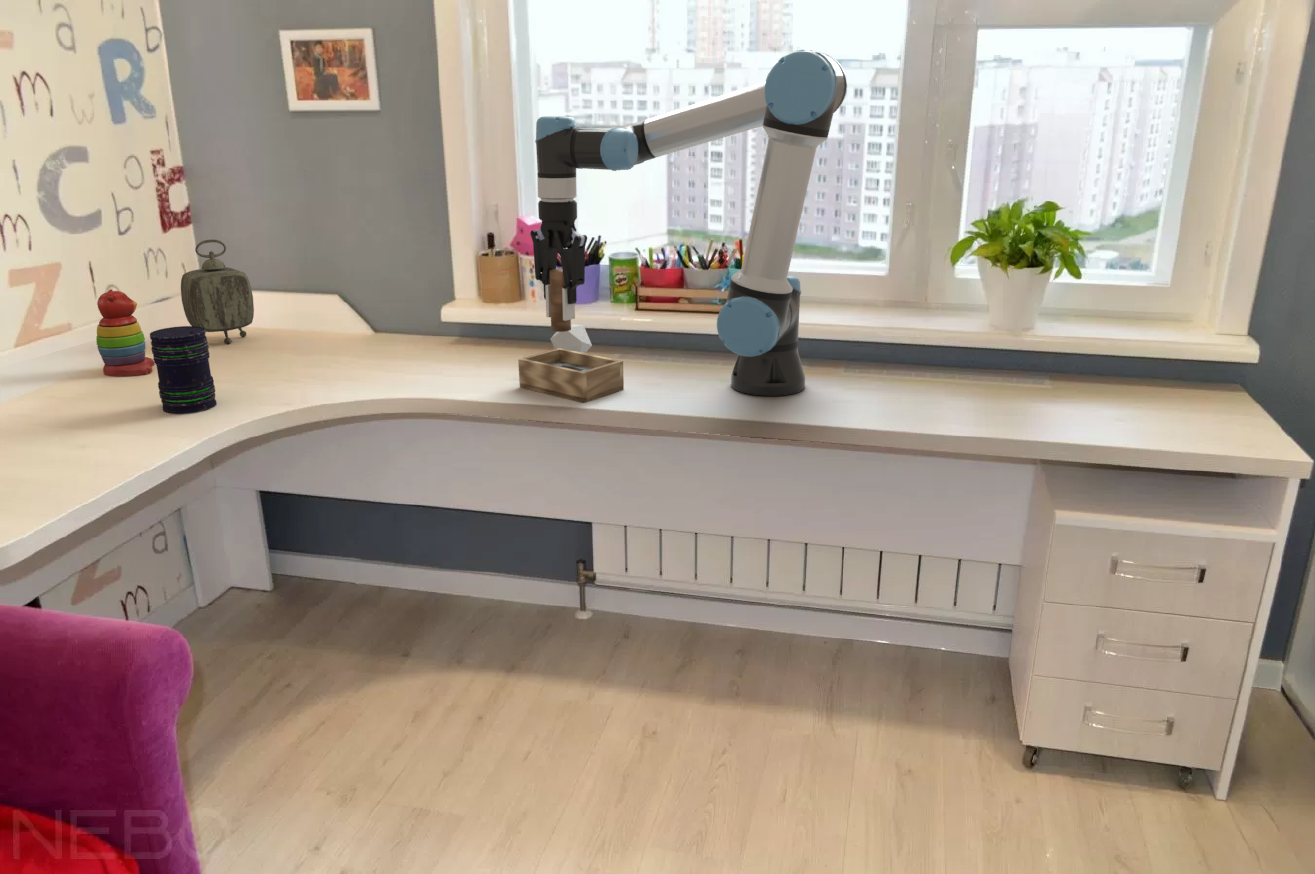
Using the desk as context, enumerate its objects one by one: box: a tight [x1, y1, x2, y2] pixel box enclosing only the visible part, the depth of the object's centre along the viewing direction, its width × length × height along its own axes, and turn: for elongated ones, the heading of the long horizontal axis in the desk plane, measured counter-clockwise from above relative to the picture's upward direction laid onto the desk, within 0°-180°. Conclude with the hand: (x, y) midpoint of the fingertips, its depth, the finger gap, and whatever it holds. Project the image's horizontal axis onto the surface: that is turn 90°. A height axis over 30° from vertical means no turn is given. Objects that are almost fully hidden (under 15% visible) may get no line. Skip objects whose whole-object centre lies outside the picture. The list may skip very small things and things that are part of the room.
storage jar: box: [149, 325, 218, 415], centre depth 192 cm, size 10×10×15 cm
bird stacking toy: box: [96, 288, 155, 377], centre depth 217 cm, size 11×10×18 cm
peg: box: [549, 268, 572, 333], centre depth 200 cm, size 4×4×12 cm
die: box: [550, 323, 593, 354], centre depth 227 cm, size 8×9×10 cm
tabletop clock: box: [180, 239, 255, 345], centre depth 241 cm, size 14×9×25 cm, turn 130°
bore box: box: [517, 348, 625, 404], centre depth 204 cm, size 18×12×6 cm, turn 51°
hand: (560, 317), depth 202 cm, fingers closed on peg, 4 cm apart
